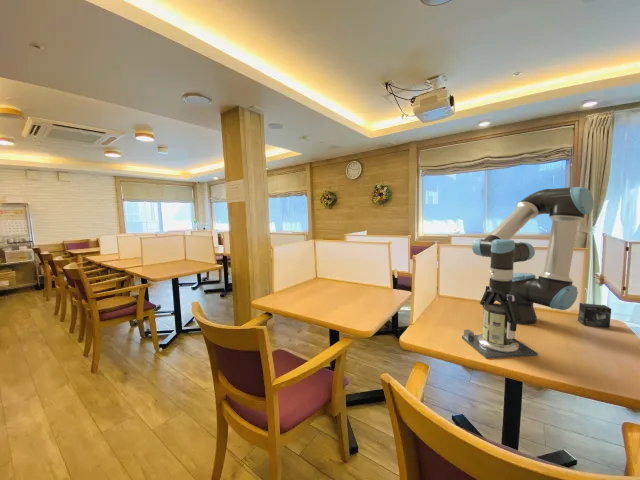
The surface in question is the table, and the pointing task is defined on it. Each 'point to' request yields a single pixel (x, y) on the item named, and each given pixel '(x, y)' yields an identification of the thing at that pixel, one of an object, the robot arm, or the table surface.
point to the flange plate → (497, 347)
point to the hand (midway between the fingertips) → (498, 330)
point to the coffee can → (495, 325)
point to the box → (594, 315)
